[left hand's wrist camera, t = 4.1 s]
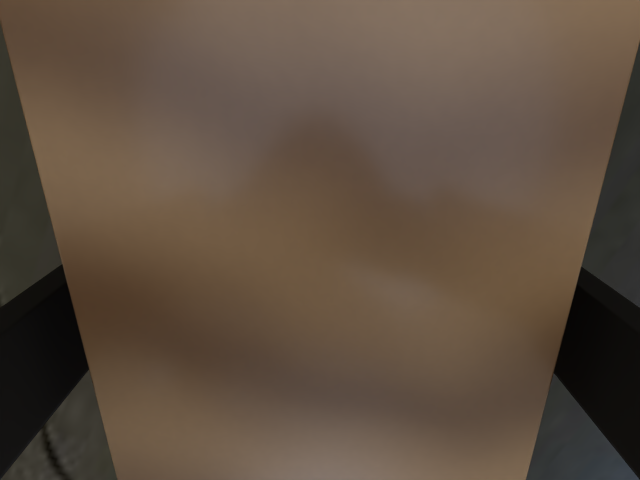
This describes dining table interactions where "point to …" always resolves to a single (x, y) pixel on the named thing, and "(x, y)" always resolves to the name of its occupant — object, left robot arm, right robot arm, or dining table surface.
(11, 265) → the dining table surface
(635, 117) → the dining table surface
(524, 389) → the cabinet
